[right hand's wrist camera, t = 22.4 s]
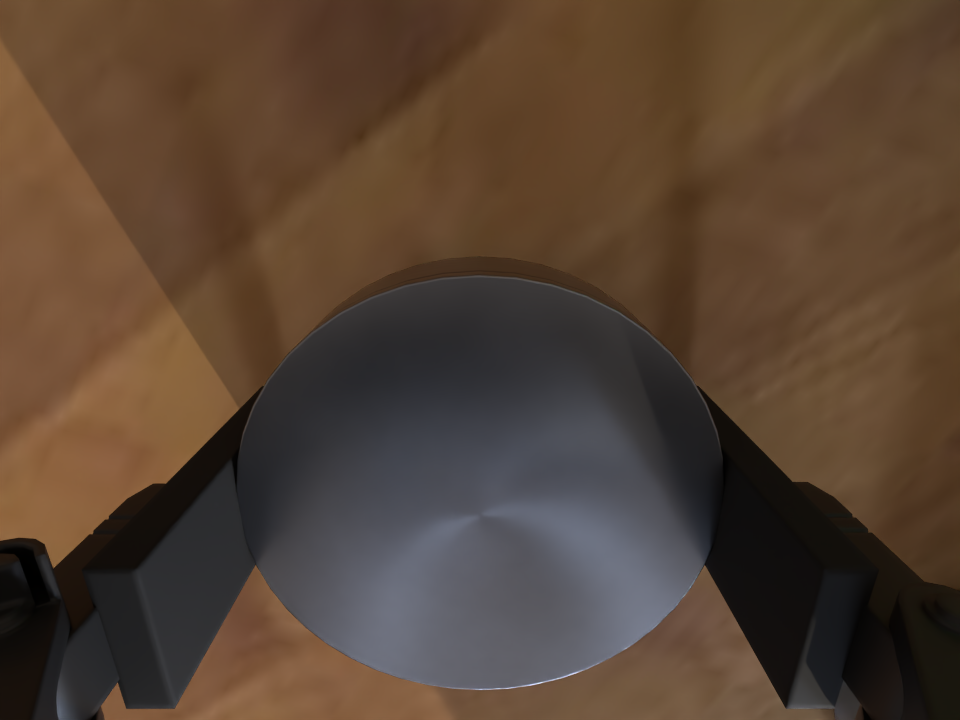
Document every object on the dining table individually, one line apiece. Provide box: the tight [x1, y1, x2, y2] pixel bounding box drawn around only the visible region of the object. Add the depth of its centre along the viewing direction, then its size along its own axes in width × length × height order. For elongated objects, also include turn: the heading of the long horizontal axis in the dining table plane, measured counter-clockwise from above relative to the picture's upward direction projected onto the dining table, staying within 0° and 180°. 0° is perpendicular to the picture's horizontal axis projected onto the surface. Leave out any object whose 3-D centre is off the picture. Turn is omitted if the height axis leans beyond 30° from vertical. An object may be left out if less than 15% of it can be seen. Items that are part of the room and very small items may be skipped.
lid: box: [236, 257, 725, 690], centre depth 11 cm, size 10×10×2 cm
